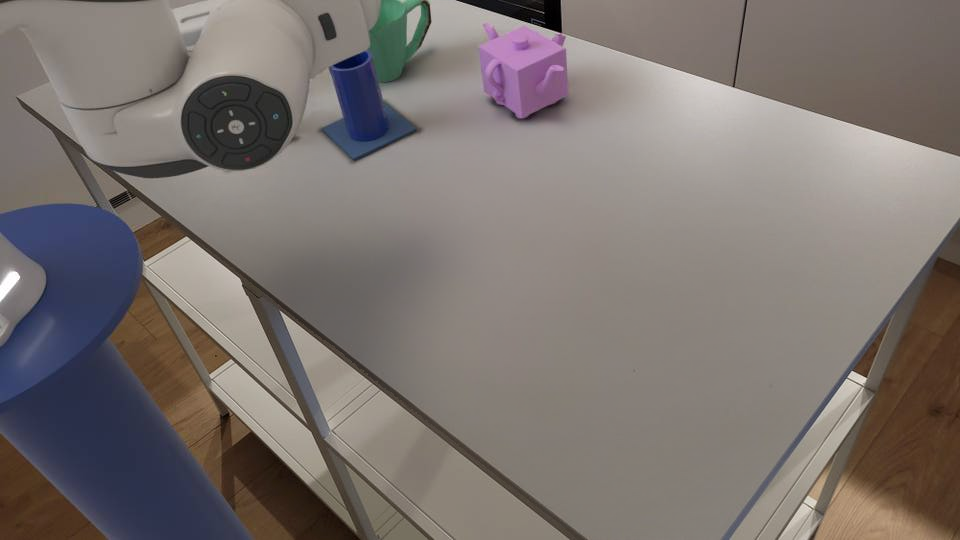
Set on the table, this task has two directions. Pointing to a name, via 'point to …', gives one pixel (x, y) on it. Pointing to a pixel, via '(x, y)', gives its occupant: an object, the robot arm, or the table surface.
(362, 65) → the blue cup
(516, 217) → the table surface
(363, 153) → the blue mat
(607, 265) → the table surface
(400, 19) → the mug
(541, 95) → the teapot
